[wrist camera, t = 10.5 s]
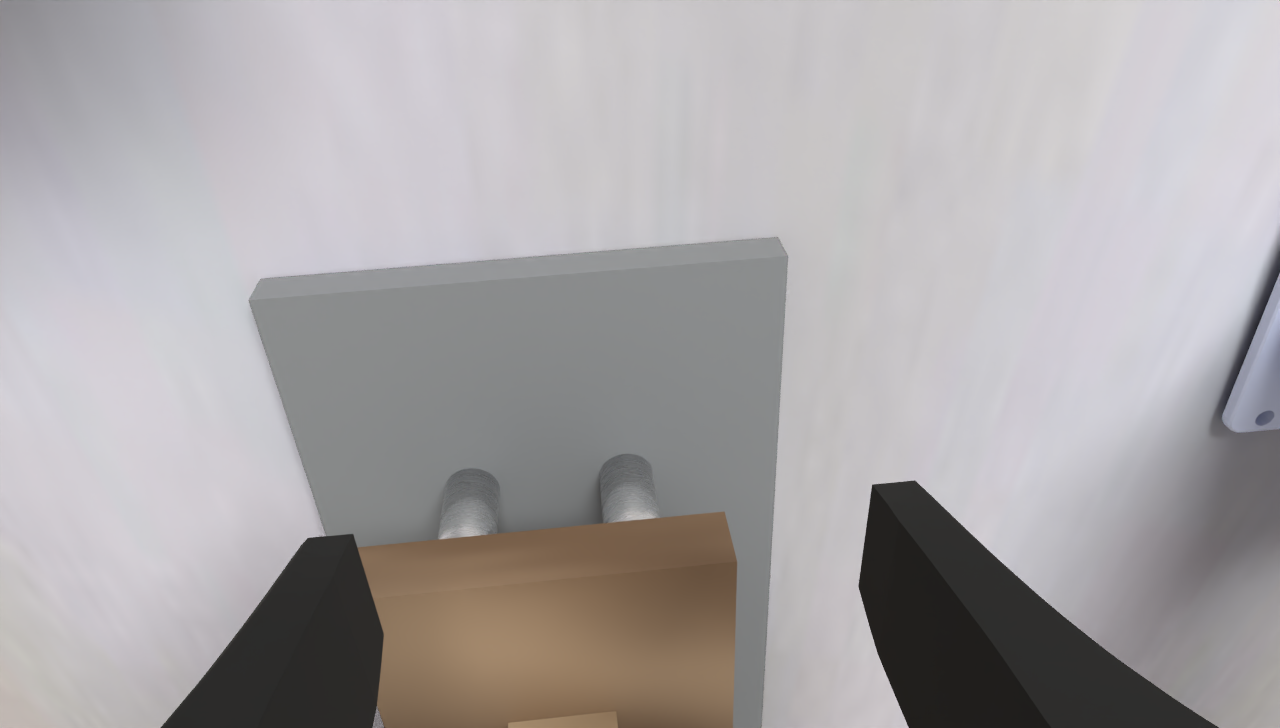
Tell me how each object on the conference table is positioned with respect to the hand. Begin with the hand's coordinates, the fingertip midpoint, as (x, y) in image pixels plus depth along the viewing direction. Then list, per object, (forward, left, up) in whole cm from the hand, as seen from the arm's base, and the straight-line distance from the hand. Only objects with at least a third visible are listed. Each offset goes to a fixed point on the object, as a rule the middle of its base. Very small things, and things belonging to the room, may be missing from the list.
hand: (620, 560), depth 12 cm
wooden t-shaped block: (+2, +11, -5) cm, 13 cm away
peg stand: (+2, +11, -10) cm, 15 cm away
